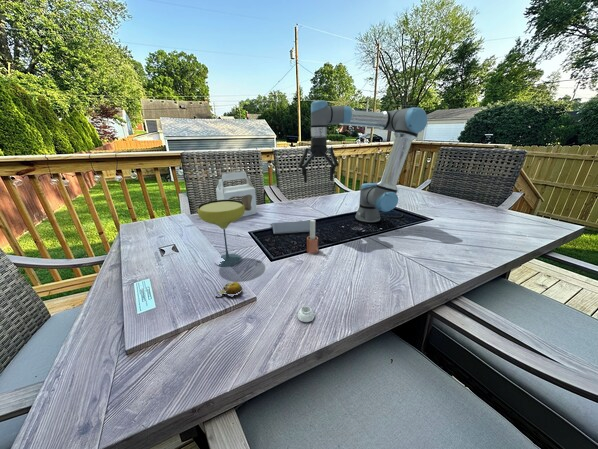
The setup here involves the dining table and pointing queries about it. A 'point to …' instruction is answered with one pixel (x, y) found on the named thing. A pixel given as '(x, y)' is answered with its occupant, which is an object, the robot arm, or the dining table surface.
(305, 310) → the lidless jar
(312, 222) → the stylus
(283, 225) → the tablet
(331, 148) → the robot arm
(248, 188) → the gable box
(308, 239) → the pen cup
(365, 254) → the dining table surface
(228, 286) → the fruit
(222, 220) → the cocktail glass
